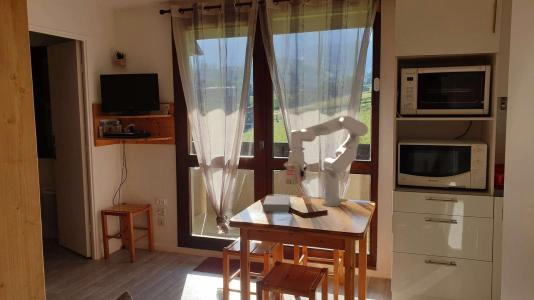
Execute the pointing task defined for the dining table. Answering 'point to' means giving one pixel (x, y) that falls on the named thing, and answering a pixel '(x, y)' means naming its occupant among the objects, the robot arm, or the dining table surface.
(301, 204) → the dining table surface
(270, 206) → the grey box
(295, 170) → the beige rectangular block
